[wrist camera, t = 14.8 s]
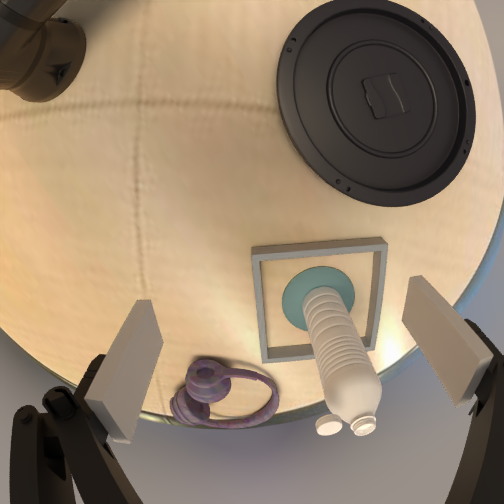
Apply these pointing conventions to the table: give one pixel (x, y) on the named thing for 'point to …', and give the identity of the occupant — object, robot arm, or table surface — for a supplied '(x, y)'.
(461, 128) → the round tray
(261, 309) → the teal-dotted square tray
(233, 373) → the headphones
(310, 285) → the teal round pad
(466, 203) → the table surface
